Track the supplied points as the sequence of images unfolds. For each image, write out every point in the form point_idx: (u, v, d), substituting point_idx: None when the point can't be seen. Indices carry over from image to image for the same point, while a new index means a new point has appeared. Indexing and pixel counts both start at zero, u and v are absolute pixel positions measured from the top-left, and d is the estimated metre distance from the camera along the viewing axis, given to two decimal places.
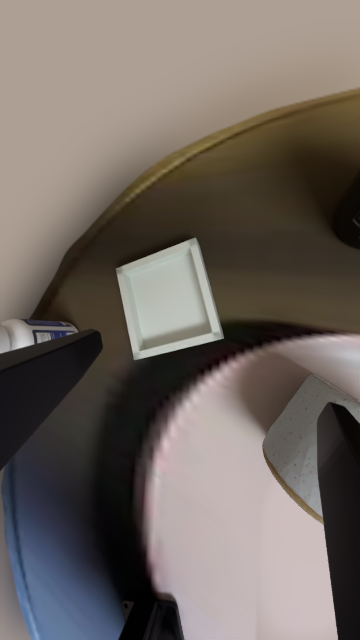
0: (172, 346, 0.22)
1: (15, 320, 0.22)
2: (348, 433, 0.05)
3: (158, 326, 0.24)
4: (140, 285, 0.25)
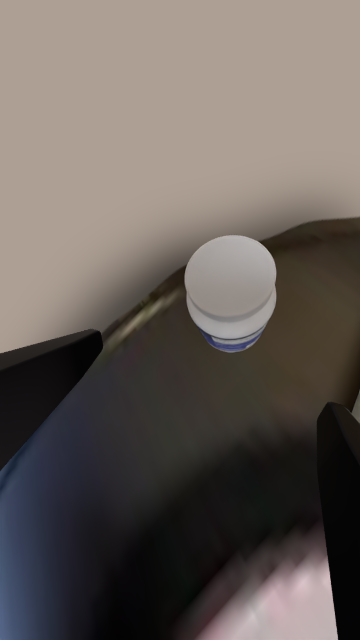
0: None
1: None
2: (348, 433, 0.05)
3: None
4: None
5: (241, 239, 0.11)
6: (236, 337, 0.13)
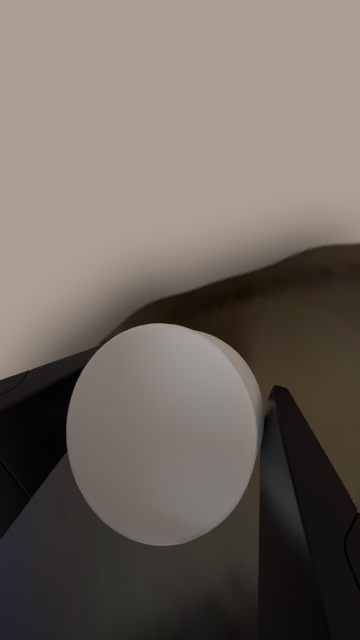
0: None
1: (242, 362, 0.07)
2: (281, 410, 0.06)
3: None
4: None
5: (183, 338, 0.05)
6: None
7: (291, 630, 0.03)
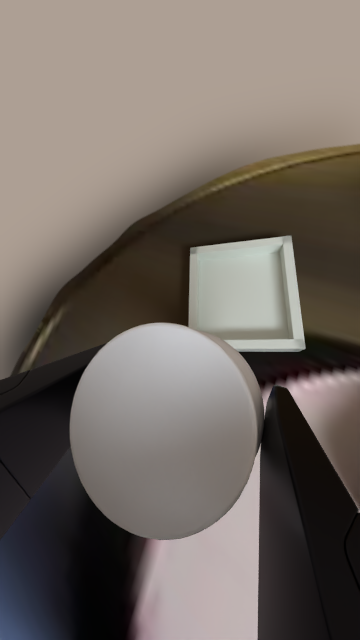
0: (239, 343, 0.19)
1: (243, 361, 0.07)
2: (281, 410, 0.06)
3: (221, 320, 0.21)
4: (209, 273, 0.23)
5: (185, 337, 0.05)
6: None
7: (291, 630, 0.03)
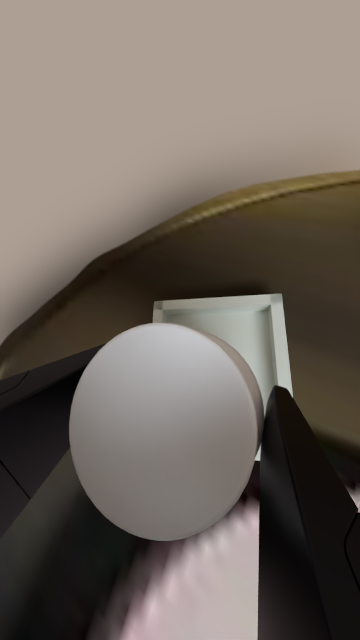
0: None
1: (243, 361, 0.07)
2: (281, 410, 0.06)
3: None
4: None
5: (185, 337, 0.05)
6: None
7: (291, 630, 0.03)
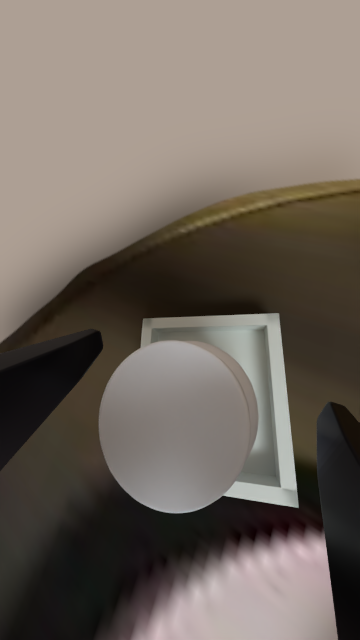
0: None
1: (240, 369, 0.08)
2: (348, 433, 0.05)
3: None
4: None
5: (193, 353, 0.06)
6: None
7: None
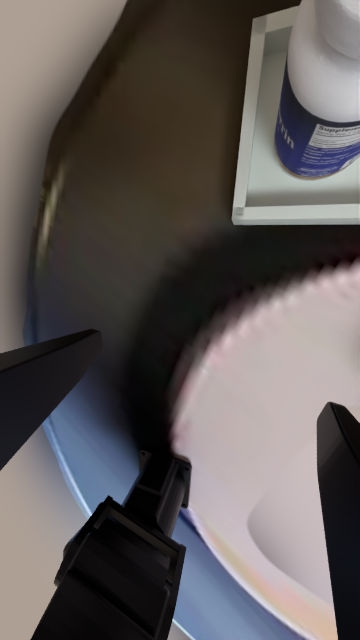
0: (306, 211, 0.14)
1: None
2: (348, 433, 0.05)
3: (283, 176, 0.15)
4: (278, 83, 0.14)
5: None
6: None
7: None
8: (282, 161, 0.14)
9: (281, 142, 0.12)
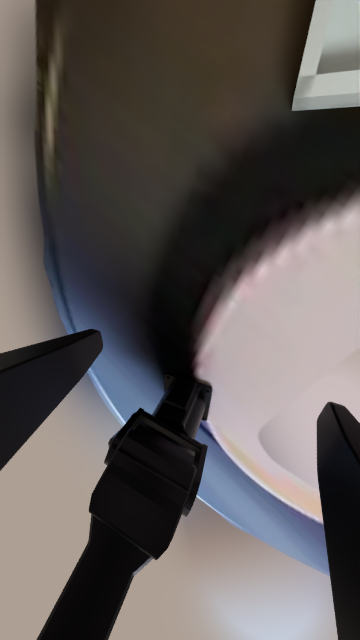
0: None
1: None
2: (348, 433, 0.05)
3: None
4: None
5: None
6: None
7: None
8: None
9: None
